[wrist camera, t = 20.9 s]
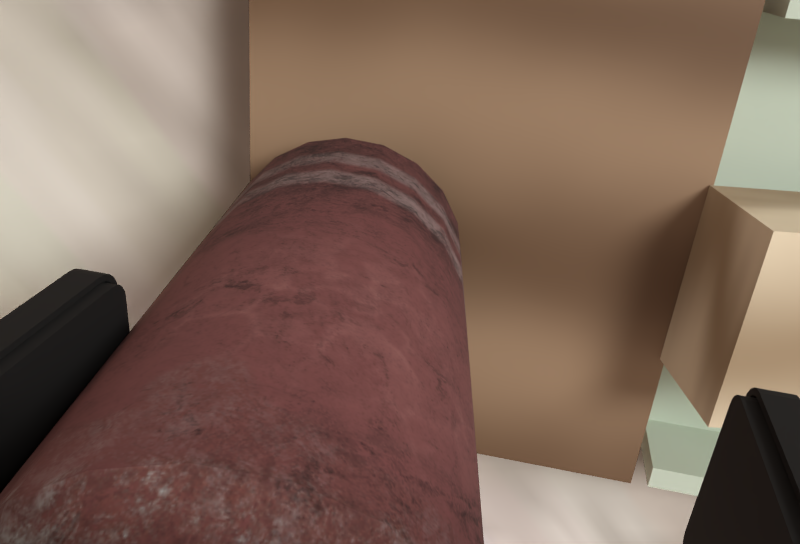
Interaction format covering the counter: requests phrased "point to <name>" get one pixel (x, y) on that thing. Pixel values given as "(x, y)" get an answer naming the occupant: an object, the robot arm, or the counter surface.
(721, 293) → the tile
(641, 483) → the counter surface
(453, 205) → the board
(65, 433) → the can
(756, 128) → the tray
